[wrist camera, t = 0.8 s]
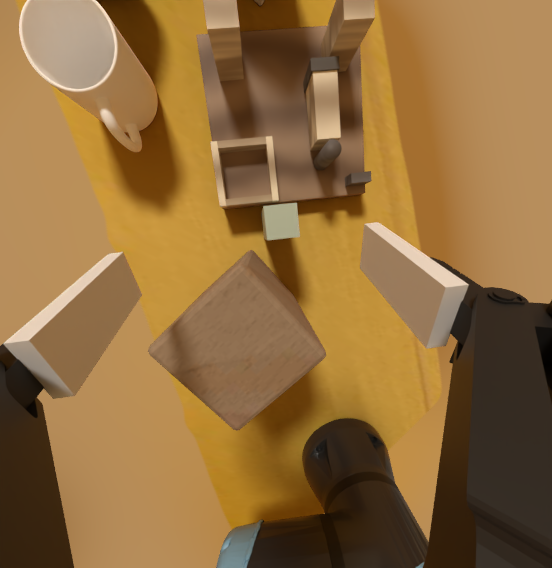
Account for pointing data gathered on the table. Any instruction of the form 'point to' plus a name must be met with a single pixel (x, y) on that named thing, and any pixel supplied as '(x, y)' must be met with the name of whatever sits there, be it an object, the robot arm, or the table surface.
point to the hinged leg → (322, 101)
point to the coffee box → (259, 2)
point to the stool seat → (281, 107)
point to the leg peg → (280, 221)
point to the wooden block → (240, 342)
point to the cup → (90, 64)
